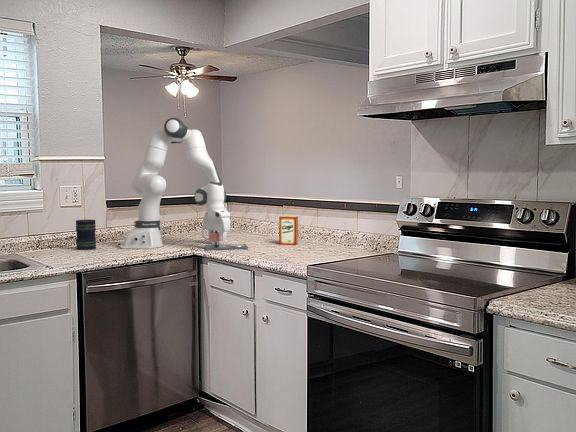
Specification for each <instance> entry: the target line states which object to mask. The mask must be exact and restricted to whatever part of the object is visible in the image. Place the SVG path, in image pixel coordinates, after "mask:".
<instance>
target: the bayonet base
mask: <svg viewBox="0 0 576 432" xmlns="http://www.w3.org/2000/svg"><path fill="white" fill-rule="evenodd" d="M204 249H205V251H233V250H234V251H236V250H235V249H244V250H249V246H248V245H247V244H246V243H243V244H242V243H236V244H235V243H233V244H232V243H231V244H221V243H219V241H216V242H214V243H213V244H204Z"/></svg>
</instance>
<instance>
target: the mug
mask: <svg viewBox="0 0 576 432" xmlns="http://www.w3.org/2000/svg"><path fill="white" fill-rule="evenodd" d="M204 230H205V229H204V227H203V226H202V228H201V229H200V232H201V233H200V234H201V237H202V238H203V239H204V240H206V241H209V233H210V232H209V230H208V229H207V235H208V237H206V236H205V235H204ZM214 232H215V230H214ZM218 232H219V231H218ZM227 236H228V232H224V233H223V241H219V243H221V244H220V245H224V243H225V241H226V239H227ZM209 242H210V243H211V245H213V243H214V241H209Z"/></svg>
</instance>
